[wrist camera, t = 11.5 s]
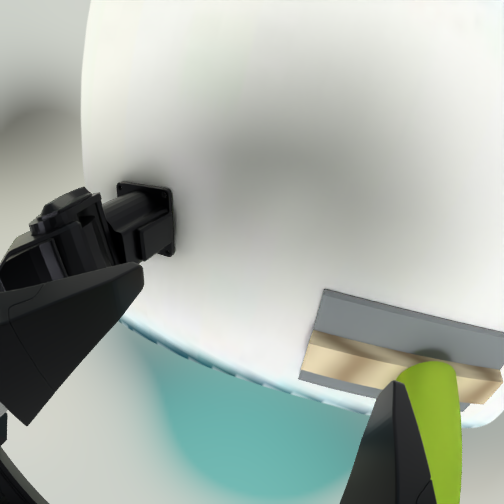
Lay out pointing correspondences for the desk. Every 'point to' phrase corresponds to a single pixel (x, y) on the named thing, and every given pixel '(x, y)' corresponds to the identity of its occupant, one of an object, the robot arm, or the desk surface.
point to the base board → (402, 337)
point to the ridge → (388, 366)
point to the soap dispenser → (438, 424)
